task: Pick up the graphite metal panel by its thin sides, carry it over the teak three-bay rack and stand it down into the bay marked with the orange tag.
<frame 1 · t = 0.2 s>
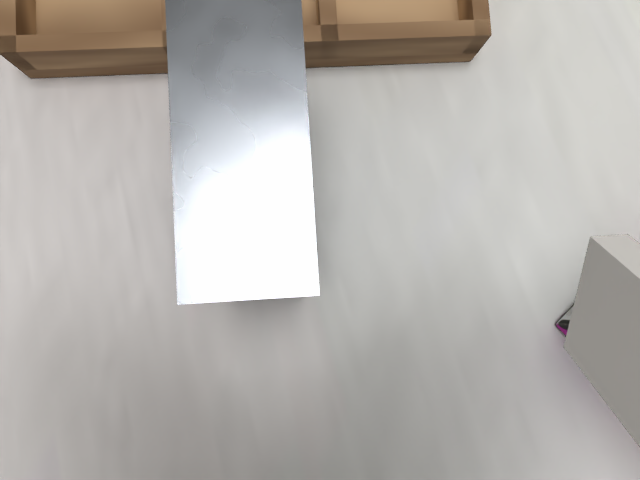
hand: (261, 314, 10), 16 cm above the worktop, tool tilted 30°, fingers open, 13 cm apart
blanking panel: (262, 195, 27), on the worktop
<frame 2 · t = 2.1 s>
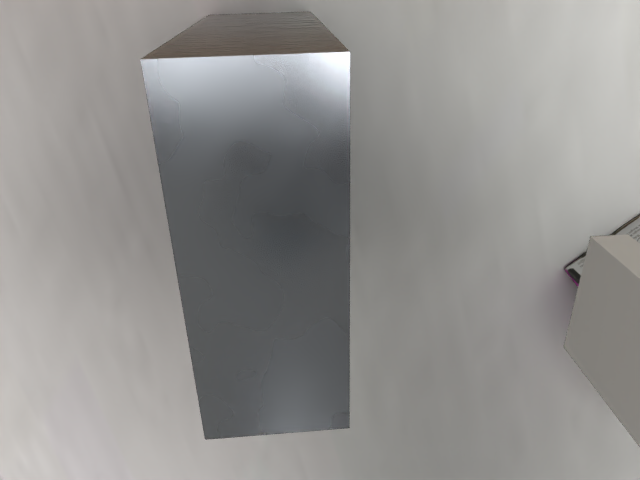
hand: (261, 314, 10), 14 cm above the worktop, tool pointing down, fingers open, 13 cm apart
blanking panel: (268, 137, 23), on the worktop
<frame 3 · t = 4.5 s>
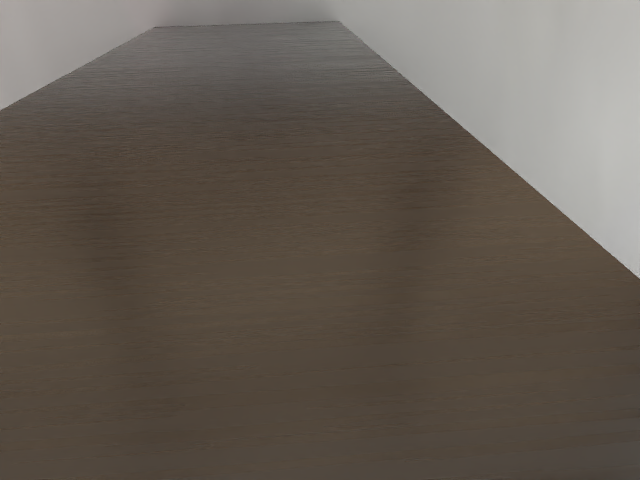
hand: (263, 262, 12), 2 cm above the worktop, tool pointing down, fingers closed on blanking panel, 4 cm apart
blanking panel: (264, 229, 14), on the worktop, touching gripper
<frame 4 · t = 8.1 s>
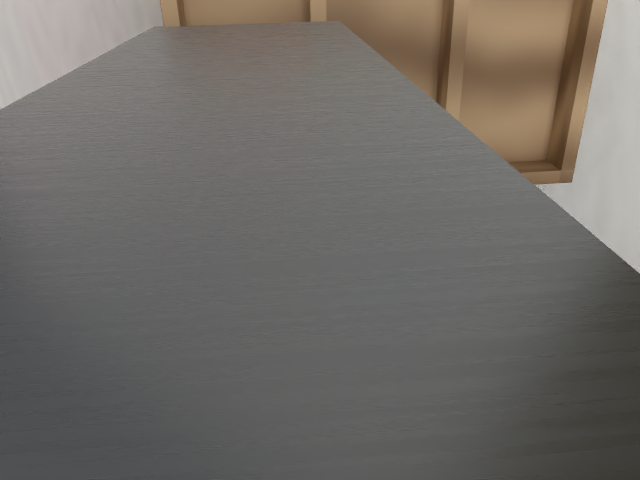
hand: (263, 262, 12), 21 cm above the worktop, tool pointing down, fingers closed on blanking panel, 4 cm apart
bay rack: (379, 58, 31), on the worktop
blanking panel: (264, 229, 14), point 20 cm above the worktop, touching gripper
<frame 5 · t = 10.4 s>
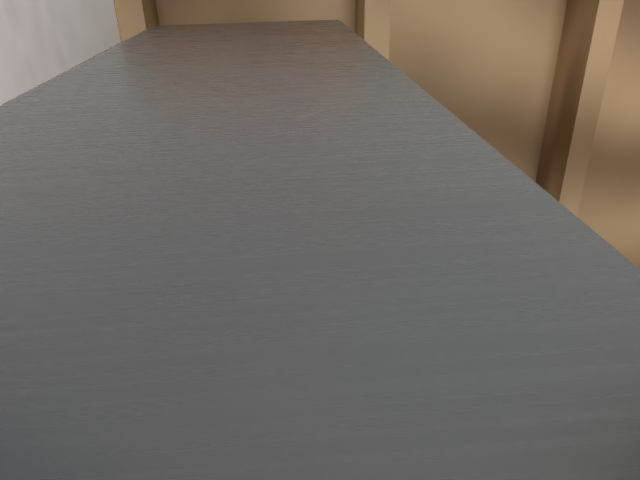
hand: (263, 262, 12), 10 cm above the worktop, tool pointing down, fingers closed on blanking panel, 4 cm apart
bay rack: (452, 136, 21), on the worktop
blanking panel: (264, 229, 14), point 8 cm above the worktop, touching gripper
when the fingers open (4 cm above the worktop, at t = 12.1 s): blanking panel drops 1 cm, resting on bay rack.
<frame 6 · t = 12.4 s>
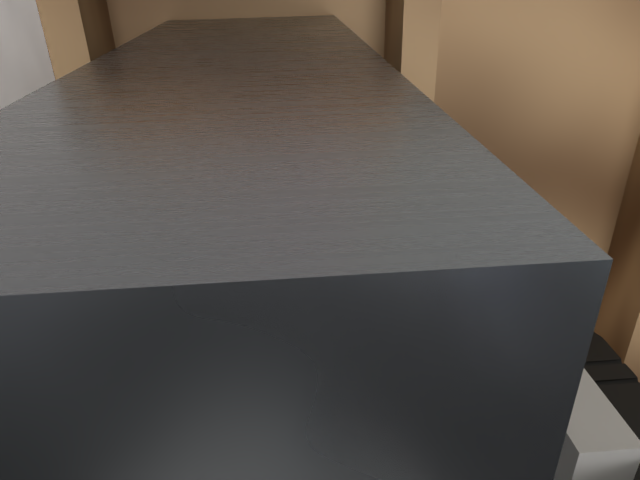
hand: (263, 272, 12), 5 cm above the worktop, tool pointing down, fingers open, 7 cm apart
bay rack: (504, 181, 16), on the worktop
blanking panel: (266, 207, 15), point 1 cm above the worktop, touching bay rack
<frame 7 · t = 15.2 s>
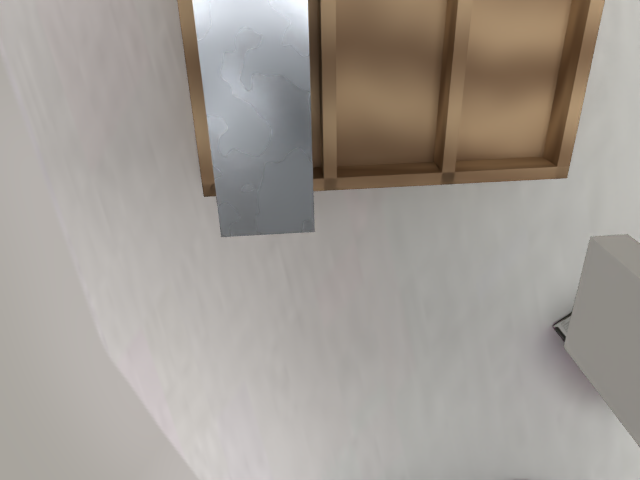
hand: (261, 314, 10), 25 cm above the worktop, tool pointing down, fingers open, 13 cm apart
bay rack: (384, 57, 32), on the worktop
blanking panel: (263, 64, 31), point 1 cm above the worktop, touching bay rack
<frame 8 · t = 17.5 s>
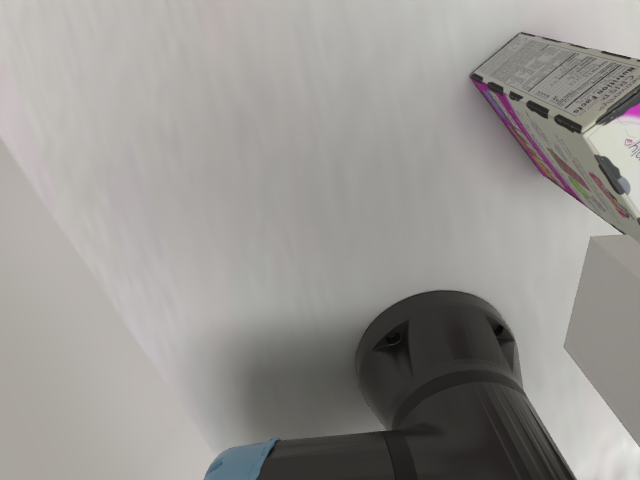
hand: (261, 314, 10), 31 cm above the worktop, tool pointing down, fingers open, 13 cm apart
candy bar box: (531, 104, 41), on the worktop
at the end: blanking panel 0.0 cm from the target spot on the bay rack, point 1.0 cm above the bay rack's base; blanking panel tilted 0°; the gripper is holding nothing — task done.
